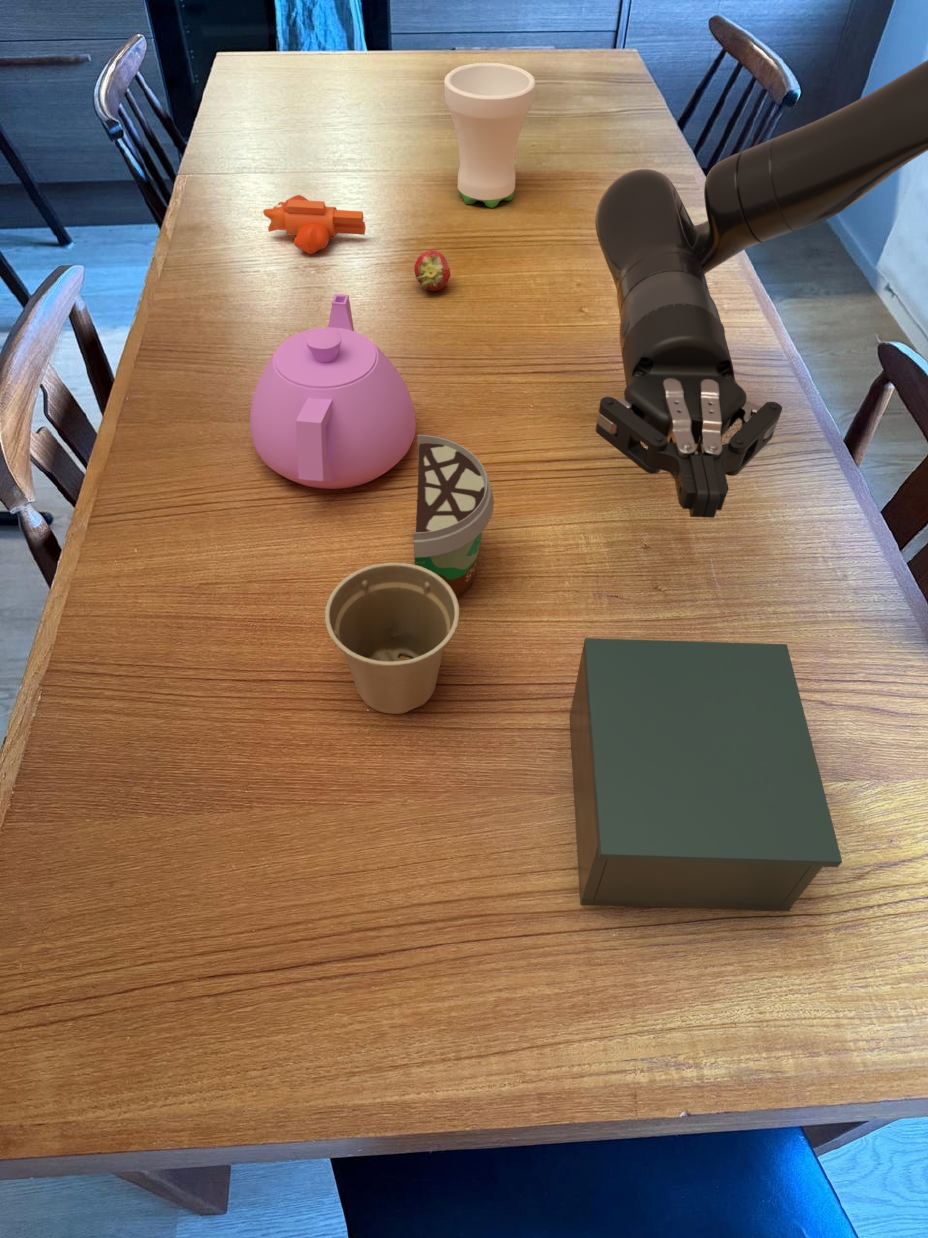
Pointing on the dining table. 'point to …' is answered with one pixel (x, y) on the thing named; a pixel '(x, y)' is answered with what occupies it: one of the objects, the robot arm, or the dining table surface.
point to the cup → (488, 126)
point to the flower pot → (393, 632)
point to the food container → (450, 511)
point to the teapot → (331, 407)
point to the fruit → (432, 270)
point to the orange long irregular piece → (313, 222)
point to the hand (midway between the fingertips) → (705, 507)
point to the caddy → (664, 879)
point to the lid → (703, 755)
